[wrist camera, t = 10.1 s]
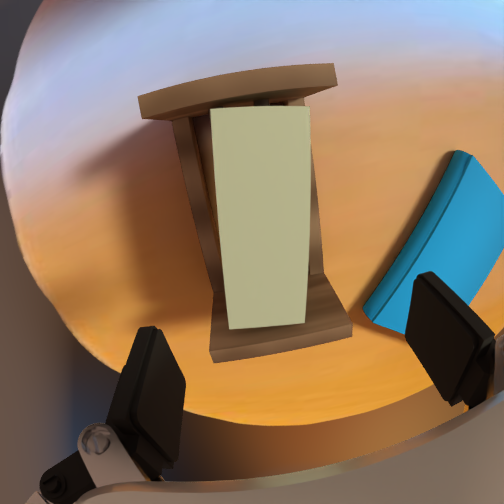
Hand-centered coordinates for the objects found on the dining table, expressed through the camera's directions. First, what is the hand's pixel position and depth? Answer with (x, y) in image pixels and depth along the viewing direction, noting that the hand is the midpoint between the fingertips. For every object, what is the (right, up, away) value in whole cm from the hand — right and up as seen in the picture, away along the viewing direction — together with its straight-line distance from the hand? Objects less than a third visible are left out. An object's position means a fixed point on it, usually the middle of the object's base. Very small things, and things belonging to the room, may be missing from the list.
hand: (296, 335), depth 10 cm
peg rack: (-1, +9, +20) cm, 22 cm away
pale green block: (-1, +6, +14) cm, 15 cm away
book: (+26, +3, +25) cm, 37 cm away
